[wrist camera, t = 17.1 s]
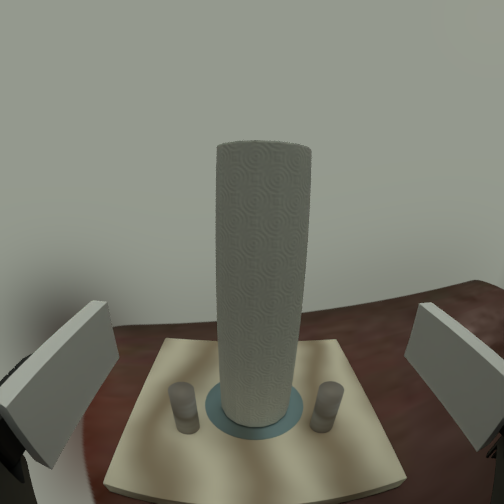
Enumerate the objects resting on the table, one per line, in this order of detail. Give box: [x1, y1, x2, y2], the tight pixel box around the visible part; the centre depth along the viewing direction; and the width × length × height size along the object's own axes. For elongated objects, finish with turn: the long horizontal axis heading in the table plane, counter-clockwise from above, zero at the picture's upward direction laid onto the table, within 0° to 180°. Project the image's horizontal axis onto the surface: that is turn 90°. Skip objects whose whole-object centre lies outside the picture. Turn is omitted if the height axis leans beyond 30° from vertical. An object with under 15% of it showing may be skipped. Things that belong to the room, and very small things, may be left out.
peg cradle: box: [103, 338, 407, 504], centre depth 22 cm, size 22×22×6 cm
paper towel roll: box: [216, 140, 311, 427], centre depth 19 cm, size 7×6×21 cm
